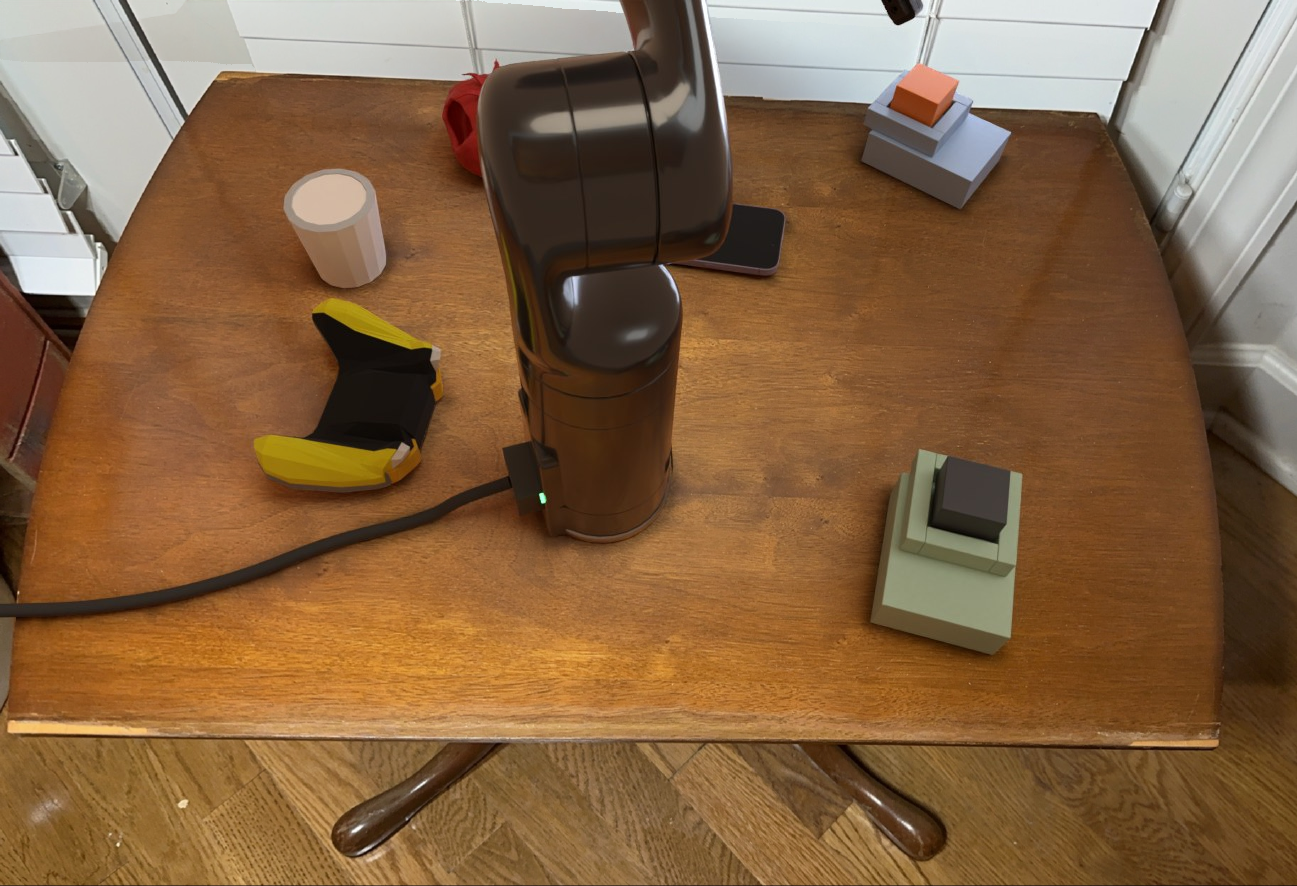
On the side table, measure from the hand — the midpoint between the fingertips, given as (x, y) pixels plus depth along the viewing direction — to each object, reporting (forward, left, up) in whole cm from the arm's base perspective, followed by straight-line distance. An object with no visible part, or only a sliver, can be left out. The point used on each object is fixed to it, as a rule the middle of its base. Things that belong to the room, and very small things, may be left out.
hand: (909, 18), depth 75 cm
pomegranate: (-34, +6, -12) cm, 36 cm away
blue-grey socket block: (+3, -5, -12) cm, 13 cm away
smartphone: (-21, -8, -12) cm, 25 cm away
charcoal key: (-13, -39, -7) cm, 42 cm away
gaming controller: (-50, -19, -12) cm, 54 cm away
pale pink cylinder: (-49, -3, -12) cm, 50 cm away
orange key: (+2, -3, -7) cm, 8 cm away
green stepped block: (-15, -42, -12) cm, 46 cm away
